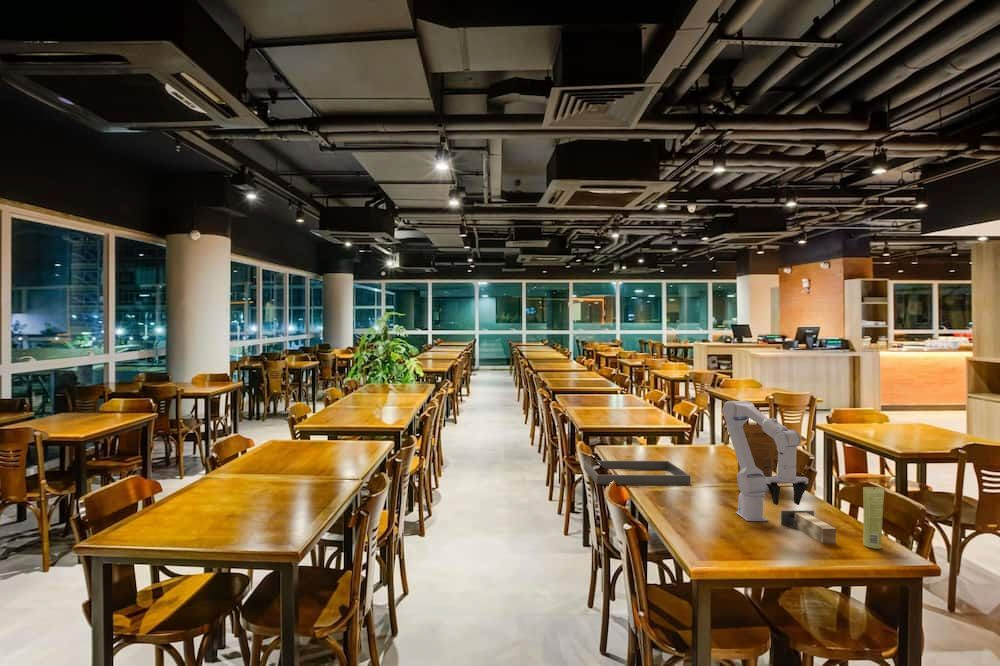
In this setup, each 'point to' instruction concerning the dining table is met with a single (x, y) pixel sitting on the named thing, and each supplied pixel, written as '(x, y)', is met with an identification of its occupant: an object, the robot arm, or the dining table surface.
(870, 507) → the tube
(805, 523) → the rail
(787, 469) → the robot arm
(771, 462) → the pancake mix bag
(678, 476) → the paper frame
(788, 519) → the bracket
